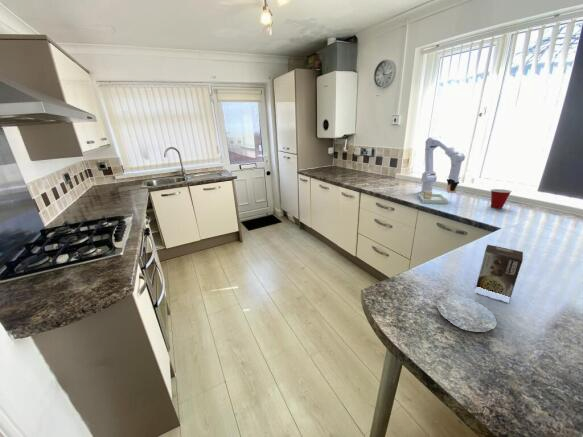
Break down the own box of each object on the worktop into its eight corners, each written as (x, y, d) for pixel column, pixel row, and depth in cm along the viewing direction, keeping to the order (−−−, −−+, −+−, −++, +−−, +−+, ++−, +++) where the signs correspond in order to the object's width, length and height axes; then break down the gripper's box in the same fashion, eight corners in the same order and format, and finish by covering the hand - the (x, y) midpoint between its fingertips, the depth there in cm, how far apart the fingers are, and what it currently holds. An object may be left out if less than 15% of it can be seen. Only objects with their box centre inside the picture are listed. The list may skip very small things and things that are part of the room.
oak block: (423, 197, 189) (424, 190, 187) (429, 197, 188) (430, 191, 186) (424, 198, 185) (425, 192, 183) (431, 198, 184) (432, 192, 182)
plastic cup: (499, 204, 167) (504, 187, 163) (510, 209, 157) (516, 191, 153) (482, 204, 168) (486, 187, 164) (492, 209, 158) (497, 192, 154)
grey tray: (417, 196, 193) (418, 193, 192) (440, 197, 189) (441, 194, 188) (422, 202, 177) (423, 199, 176) (447, 203, 173) (448, 200, 172)
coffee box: (509, 294, 81) (524, 251, 75) (508, 304, 77) (524, 260, 71) (476, 284, 87) (487, 243, 81) (473, 292, 82) (485, 250, 77)
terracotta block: (446, 191, 179) (447, 184, 178) (453, 191, 178) (454, 184, 176) (448, 192, 175) (449, 185, 173) (455, 192, 174) (457, 186, 172)
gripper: (465, 173, 164) (461, 192, 169) (457, 169, 177) (453, 187, 182) (453, 173, 166) (449, 192, 170) (446, 169, 179) (443, 187, 184)
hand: (451, 190), depth 176 cm, fingers closed on terracotta block, 4 cm apart
